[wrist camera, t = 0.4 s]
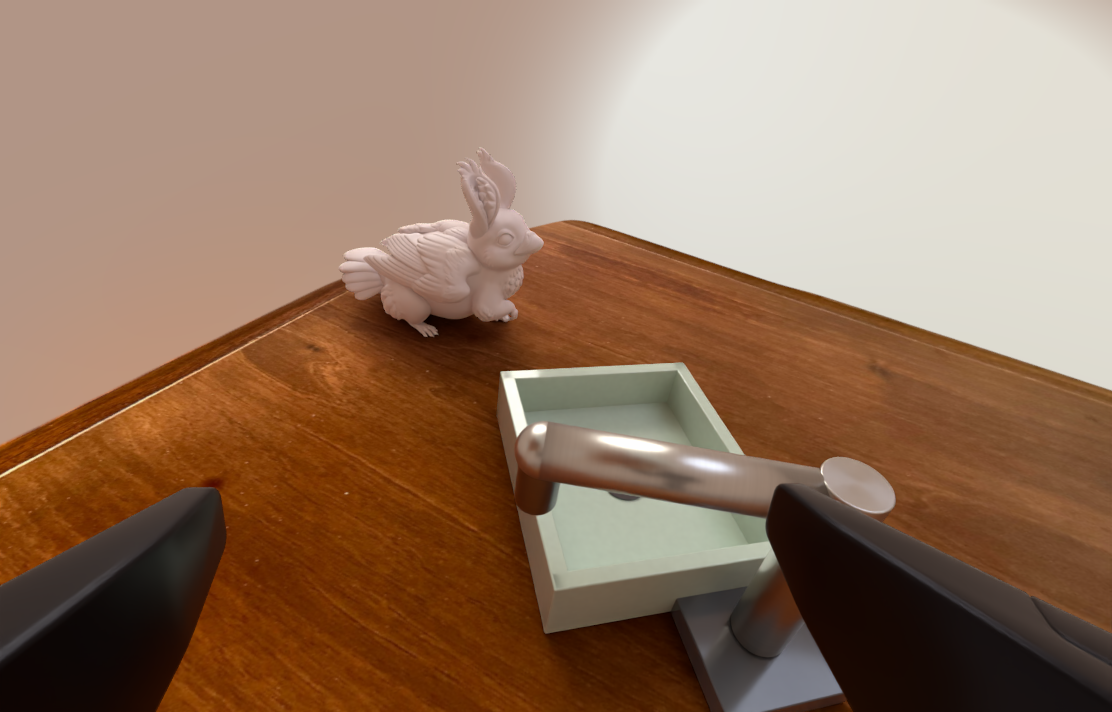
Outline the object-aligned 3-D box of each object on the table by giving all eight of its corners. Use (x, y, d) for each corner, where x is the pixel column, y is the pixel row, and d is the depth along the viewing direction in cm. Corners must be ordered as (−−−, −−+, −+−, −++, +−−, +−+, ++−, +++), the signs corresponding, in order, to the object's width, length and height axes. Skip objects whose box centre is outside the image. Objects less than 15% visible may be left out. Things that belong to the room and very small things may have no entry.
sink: (844, 702, 23) (884, 664, 21) (574, 769, 20) (589, 732, 18) (670, 402, 38) (683, 361, 36) (496, 414, 35) (500, 370, 33)
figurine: (522, 364, 39) (542, 190, 32) (321, 321, 40) (295, 142, 33) (544, 307, 46) (565, 151, 38) (371, 271, 47) (358, 113, 39)
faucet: (779, 608, 25) (880, 462, 19) (791, 662, 23) (908, 519, 17) (503, 559, 25) (522, 401, 19) (492, 609, 23) (510, 450, 18)
